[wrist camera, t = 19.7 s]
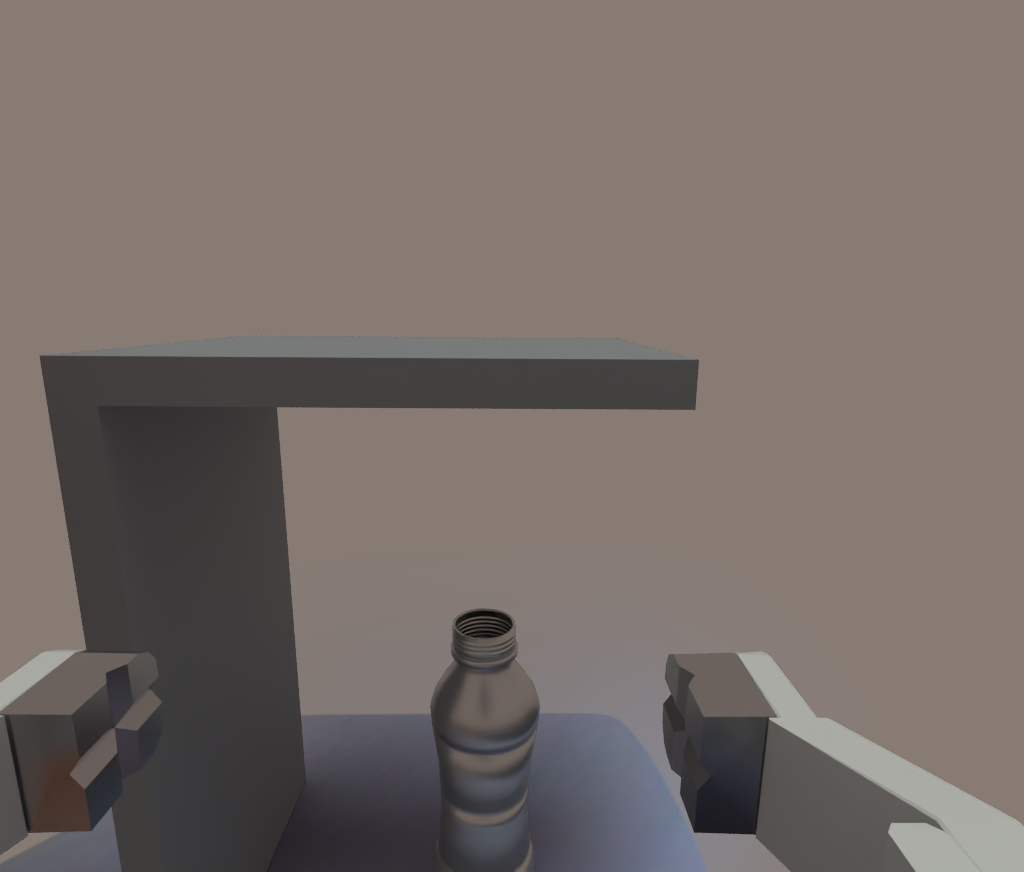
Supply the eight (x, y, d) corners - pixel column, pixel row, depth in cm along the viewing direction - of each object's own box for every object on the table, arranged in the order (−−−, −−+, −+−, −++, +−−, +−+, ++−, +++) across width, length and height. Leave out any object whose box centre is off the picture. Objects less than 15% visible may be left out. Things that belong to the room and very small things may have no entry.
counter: (150, 1050, 31) (39, 355, 23) (281, 781, 48) (242, 335, 41) (648, 1051, 31) (698, 359, 23) (598, 782, 48) (617, 338, 41)
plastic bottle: (454, 846, 43) (450, 590, 38) (546, 871, 41) (552, 605, 37) (415, 935, 37) (405, 642, 32) (520, 969, 35) (524, 664, 30)
